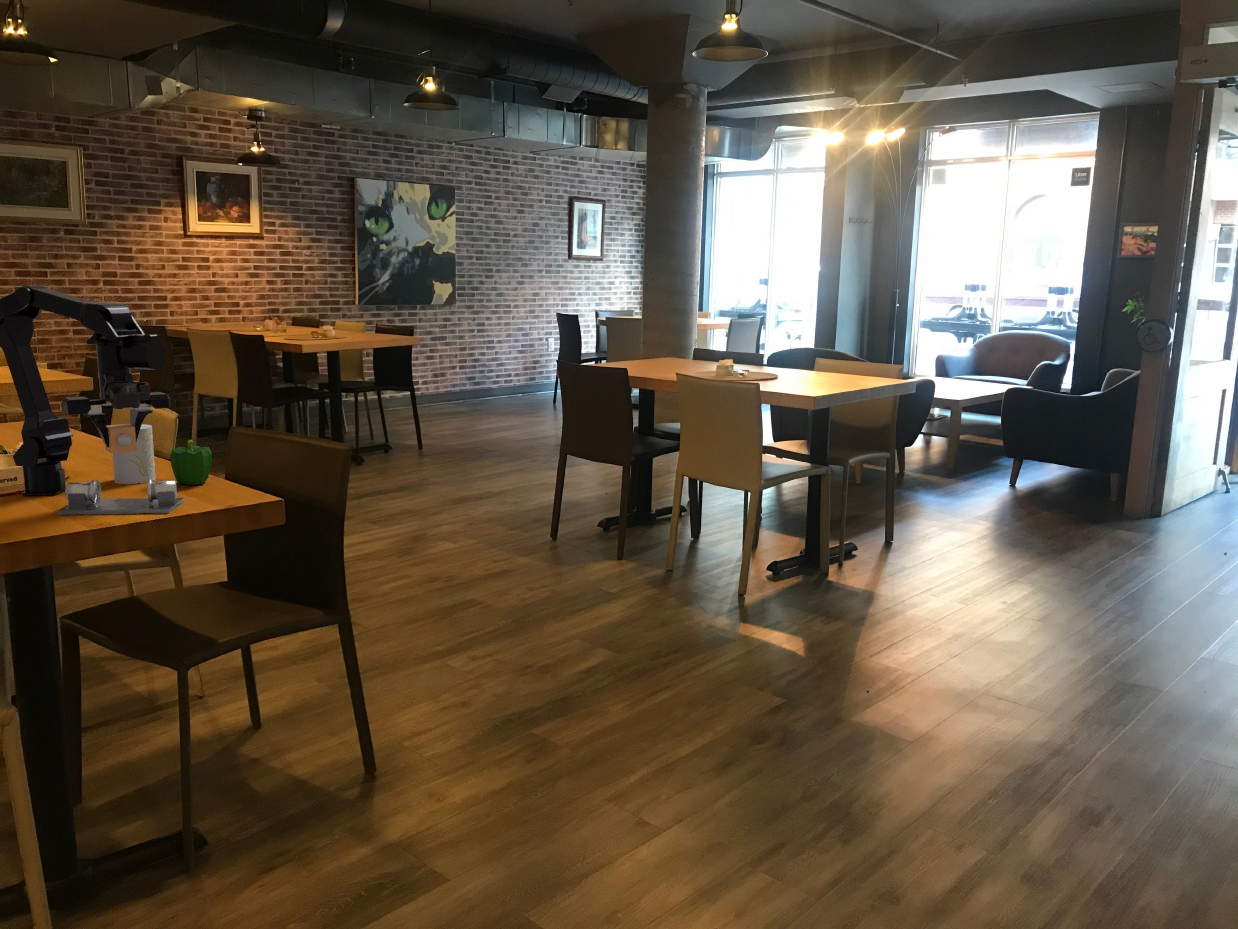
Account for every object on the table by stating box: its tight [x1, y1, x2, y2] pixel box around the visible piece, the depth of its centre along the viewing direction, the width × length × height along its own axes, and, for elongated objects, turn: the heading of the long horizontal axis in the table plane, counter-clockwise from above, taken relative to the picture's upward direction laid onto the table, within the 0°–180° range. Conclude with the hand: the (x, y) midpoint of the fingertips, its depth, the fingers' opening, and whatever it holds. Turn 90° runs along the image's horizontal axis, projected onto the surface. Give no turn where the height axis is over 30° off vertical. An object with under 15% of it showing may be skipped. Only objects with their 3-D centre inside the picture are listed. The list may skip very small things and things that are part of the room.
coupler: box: [105, 423, 137, 455], centre depth 194 cm, size 7×4×5 cm, turn 40°
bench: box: [56, 479, 185, 516], centre depth 190 cm, size 20×10×6 cm, turn 99°
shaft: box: [146, 479, 178, 506], centre depth 191 cm, size 5×5×5 cm
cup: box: [112, 423, 156, 485], centre depth 214 cm, size 8×8×12 cm
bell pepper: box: [169, 439, 213, 486], centre depth 213 cm, size 8×8×10 cm
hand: (120, 445), depth 194 cm, fingers closed on coupler, 4 cm apart
